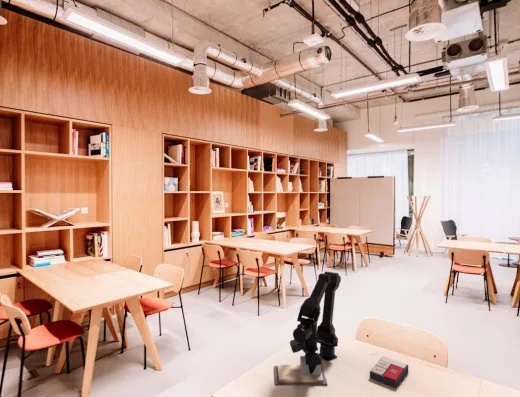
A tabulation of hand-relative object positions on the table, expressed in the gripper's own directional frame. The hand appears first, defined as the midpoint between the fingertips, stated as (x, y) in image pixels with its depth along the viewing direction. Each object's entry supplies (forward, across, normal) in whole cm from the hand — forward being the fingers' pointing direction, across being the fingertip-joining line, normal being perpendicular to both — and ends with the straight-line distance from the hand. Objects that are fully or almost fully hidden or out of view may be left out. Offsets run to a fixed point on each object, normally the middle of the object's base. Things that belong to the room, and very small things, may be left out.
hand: (310, 369), depth 133 cm
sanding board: (+2, 0, -4) cm, 5 cm away
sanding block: (+1, 0, 0) cm, 1 cm away
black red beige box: (+3, -1, +34) cm, 34 cm away
